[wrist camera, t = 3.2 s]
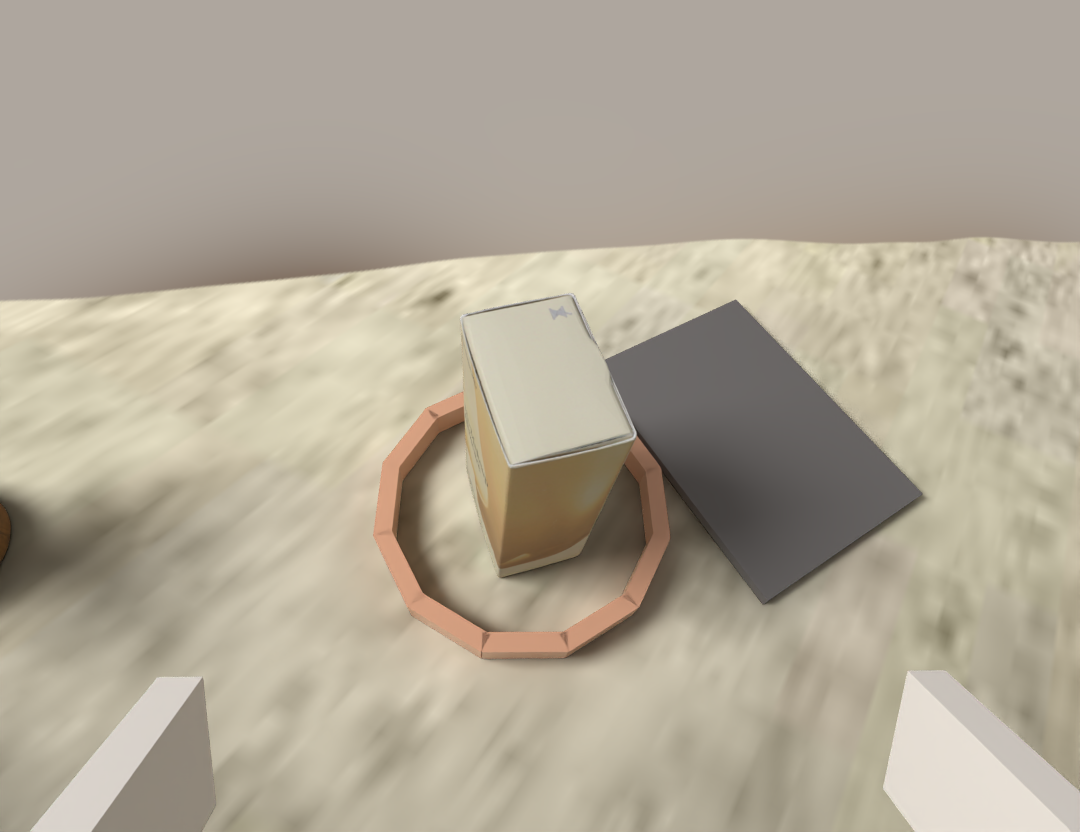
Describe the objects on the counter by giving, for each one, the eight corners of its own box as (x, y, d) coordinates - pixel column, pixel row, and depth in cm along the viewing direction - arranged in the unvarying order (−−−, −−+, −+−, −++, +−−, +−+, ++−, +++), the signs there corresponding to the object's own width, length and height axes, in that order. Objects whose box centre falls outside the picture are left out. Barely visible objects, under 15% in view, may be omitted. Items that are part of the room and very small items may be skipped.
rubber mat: (732, 306, 38) (735, 299, 38) (915, 498, 32) (922, 493, 31) (587, 373, 35) (589, 366, 34) (762, 604, 28) (767, 601, 28)
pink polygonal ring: (565, 361, 35) (568, 345, 34) (714, 562, 29) (725, 552, 28) (338, 463, 30) (331, 449, 29) (463, 723, 25) (461, 719, 24)
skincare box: (463, 466, 31) (452, 305, 20) (544, 446, 32) (572, 282, 21) (498, 587, 28) (505, 470, 17) (586, 561, 29) (642, 435, 18)
